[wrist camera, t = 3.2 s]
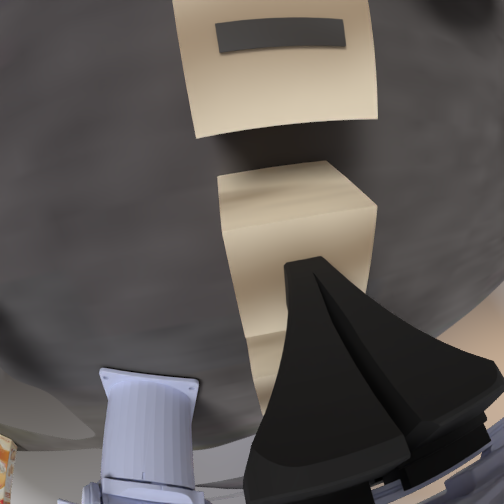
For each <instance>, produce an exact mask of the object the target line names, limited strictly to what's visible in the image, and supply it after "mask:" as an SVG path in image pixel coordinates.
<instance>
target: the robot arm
mask: <svg viewBox="0 0 504 504" xmlns="http://www.w3.org/2000/svg"><path fill="white" fill-rule="evenodd" d="M284 278H285V292H286V305H287V310H288V318H287V328H286V335H285V342H284V347H283V352H282V357H281V361H280V366H279V370H278V374H277V377H276V381H275V384H274V388H273V391H272V394H271V397H270V400H269V403H268V406H267V409H266V411H265V414H264V417H263V419H262V422H261V424H260V426H259V429H258V431H257V433H256V436H255V438H254V441H253V442H252V445H251V449H250V454H249V458H248V461H247V465H246V470H245V473H244V479H243V489H244V495H245V500H246V504H388V503H390V502H393V501H395V500H397V499H399V498H402V497H404V496H406V495H409V494H411V493H413V492H415V491H417V490H419V489H421V488H423V487H425V486H427V485H429V484H431V483H432V482H434V481H436V480H438V479H440V478H442V477H443V476H445V475H447V474H449V473H450V472H452V471H454V470H455V469H457V468H459V467H460V466H462V465H463V464H465V463H467V462H468V461H470V460H471V459H473V458H474V457H475V456H477V455H479V454H480V453H481V452H482V454H481V458H480V459H479V460H478V461H476V462H474V463H473V464H471V465H469V466H468V467H466V468H464V469H462V470H461V471H459V472H458V473H456V474H454V475H453V476H452V477H450V478H449V479H447V480H446V481H445V482H444V484H445V486H446V489H445V490H443V491H441V492H440V493H438V494H436V495H434V496H432V497H430V498H428V499H426V500H424V501H422V502H420V503H418V504H504V418H502V419H501V420H500V421H498V422H497V423H496V424H494V425H493V426H492V427H490V428H489V429H487V430H486V428H485V426H484V424H483V423H484V422H486V421H487V417H486V415H485V413H484V410H486V409H487V408H488V407H489V406H490V405H491V404H492V403H493V402H494V401H495V400H496V399H497V398H498V397H499V396H500V395H501V394H502V393H503V392H504V377H503V376H502V374H501V372H500V371H499V369H498V367H497V366H496V364H495V363H494V361H492V360H489V359H486V358H483V357H480V356H476V355H474V354H471V353H467V352H465V351H462V350H460V349H458V348H455V347H453V346H451V345H448V344H446V343H444V342H442V341H440V340H437V339H435V338H433V337H432V336H430V335H428V334H426V333H424V332H422V331H420V330H418V329H416V328H415V327H413V326H411V325H410V324H408V323H406V322H405V321H403V320H402V319H400V318H398V317H397V316H395V315H394V314H392V313H391V312H389V311H388V310H386V309H385V308H383V307H382V306H381V305H379V304H378V303H377V302H375V301H374V300H373V299H371V298H370V297H369V296H368V295H366V294H365V293H364V292H363V291H361V290H360V289H359V288H358V287H357V286H355V285H354V284H353V283H352V282H351V281H349V280H348V279H347V278H346V277H345V276H344V275H343V274H341V273H340V272H339V271H338V270H337V269H336V268H335V267H333V266H332V265H331V264H330V263H329V262H328V261H327V260H326V259H325V258H323V257H322V256H317V257H312V258H307V259H302V260H297V261H291V262H287V263H286V264H285V265H284ZM99 374H100V377H101V380H102V383H103V386H104V389H105V392H106V395H107V398H108V406H107V414H106V421H105V430H104V439H103V450H102V463H101V479H100V480H99V481H98V482H97V483H94V482H90V483H89V485H86V486H84V488H83V493H82V504H212V503H211V502H210V501H208V500H206V499H204V492H201V491H195V481H194V467H193V450H192V429H191V423H192V418H193V413H194V408H195V402H196V397H197V393H198V388H199V381H198V380H196V379H190V378H178V377H167V376H158V375H150V374H142V373H134V372H127V371H121V370H115V369H109V368H101V369H100V372H99ZM383 482H384V486H381V487H379V488H376V489H373V490H371V488H370V487H372V486H375V485H377V484H380V483H383ZM57 504H77V503H73V502H69V501H66V500H62V499H58V500H57Z"/></svg>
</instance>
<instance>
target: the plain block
mask: <svg viewBox="0 0 504 504" xmlns="http://www.w3.org/2000/svg"><path fill="white" fill-rule="evenodd" d="M217 179H218V192H219V204H220V216H221V227H222V234H223V239H224V244H225V248H226V253H227V258H228V262H229V267H230V272H231V276H232V281H233V285H234V290H235V294H236V299H237V303H238V307H239V312H240V316H241V320H242V325H243V329H244V333H245V338H247V337H253V336H258V335H263V334H269V333H274V332H279V331H284V330H286V328H287V318H288V310H287V305H286V292H285V278H284V265H285V264H286V263H287V262H291V261H297V260H302V259H307V258H312V257H317V256H322V257H323V258H325V259H326V260H327V261H328V262H329V263H330V264H331V265H332V266H333V267H335V268H336V269H337V270H338V271H339V272H340V273H341V274H343V275H344V276H345V277H346V278H347V279H348V280H349V281H351V282H352V283H353V284H354V285H355V286H357V287H358V288H359V289H360V290H361V291H363V292H364V293H366V287H367V281H368V275H369V269H370V263H371V256H372V249H373V241H374V233H375V224H376V214H377V205H376V204H375V203H374V202H373V201H372V200H371V199H369V198H368V197H367V196H366V195H365V194H364V193H363V192H362V191H361V190H360V189H359V188H357V187H356V186H355V185H354V184H353V183H352V182H351V181H350V180H348V179H347V178H346V177H345V176H344V175H343V174H341V173H340V172H339V171H338V170H337V169H336V168H334V167H333V166H332V165H331V164H330V163H328V162H327V161H326V160H325V161H316V162H308V163H299V164H292V165H284V166H277V167H270V168H263V169H257V170H250V171H244V172H238V173H233V174H227V175H221V176H217Z"/></svg>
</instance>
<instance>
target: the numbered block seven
mask: <svg viewBox="0 0 504 504" xmlns="http://www.w3.org/2000/svg"><path fill="white" fill-rule="evenodd" d="M285 335H286V330H284V331H279V332H274V333H269V334H263V335H258V336H253V337H247V338H246V339H247V346H248V352H249V358H250V364H251V370H252V376H253V381H254V385H255V389H256V392H257V396H258V400H259V404H260V407H261V411H262V415H264V414H265V411H266V409H267V406H268V403H269V400H270V397H271V394H272V391H273V388H274V384H275V381H276V377H277V374H278V370H279V366H280V361H281V357H282V352H283V347H284V342H285Z"/></svg>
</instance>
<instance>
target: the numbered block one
mask: <svg viewBox="0 0 504 504" xmlns="http://www.w3.org/2000/svg"><path fill="white" fill-rule="evenodd" d="M172 1H173V7H174V14H175V21H176V27H177V33H178V39H179V46H180V52H181V58H182V63H183V69H184V75H185V81H186V86H187V92H188V97H189V103H190V108H191V113H192V118H193V124H194V129H195V134H196V138H201V137H207V136H212V135H217V134H223V133H229V132H235V131H241V130H247V129H254V128H261V127H269V126H277V125H286V124H295V123H306V122H319V121H334V120H356V119H378V109H377V82H376V66H375V54H374V43H373V34H372V26H371V19H370V12H369V5H368V0H172Z"/></svg>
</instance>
